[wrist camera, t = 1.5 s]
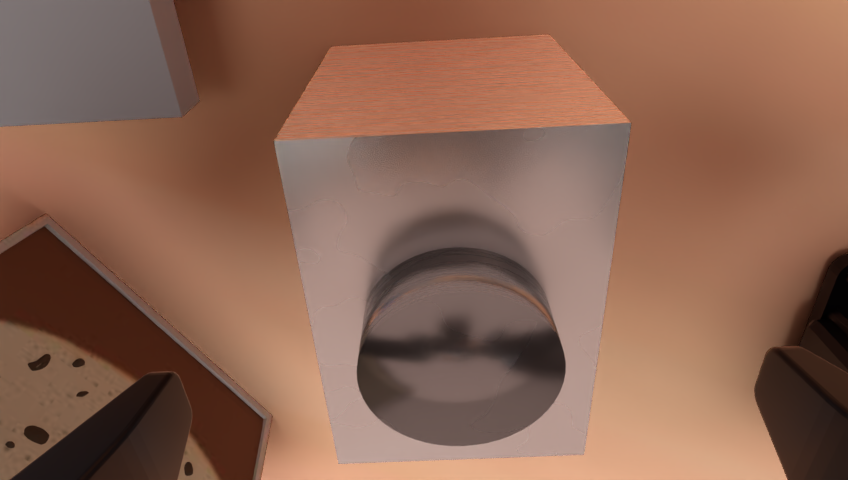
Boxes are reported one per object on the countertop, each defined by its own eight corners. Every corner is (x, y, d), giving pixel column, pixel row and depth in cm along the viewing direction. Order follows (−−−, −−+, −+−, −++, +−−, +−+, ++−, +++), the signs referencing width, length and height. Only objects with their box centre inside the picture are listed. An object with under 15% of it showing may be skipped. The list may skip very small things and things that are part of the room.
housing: (548, 33, 13) (662, 157, 7) (534, 282, 17) (600, 509, 10) (332, 45, 13) (252, 177, 7) (364, 290, 17) (330, 518, 11)
